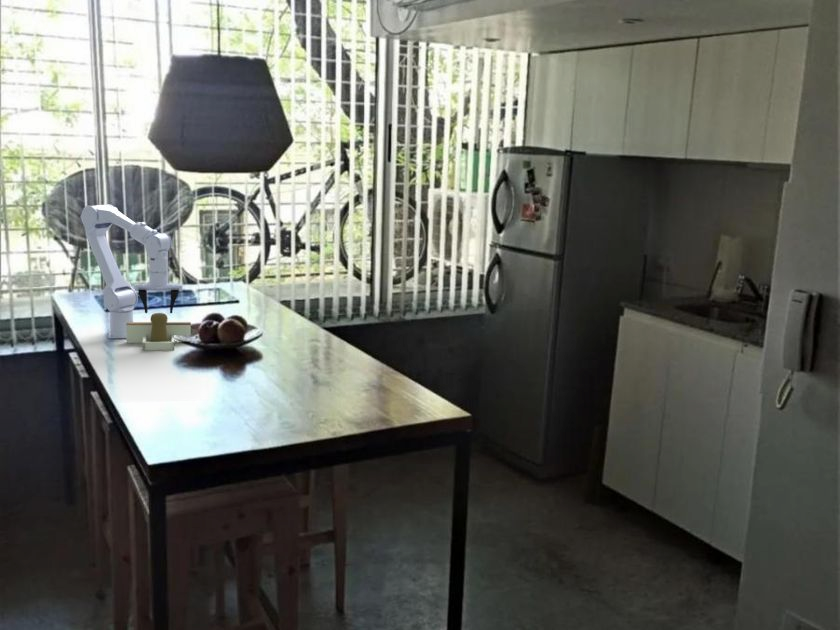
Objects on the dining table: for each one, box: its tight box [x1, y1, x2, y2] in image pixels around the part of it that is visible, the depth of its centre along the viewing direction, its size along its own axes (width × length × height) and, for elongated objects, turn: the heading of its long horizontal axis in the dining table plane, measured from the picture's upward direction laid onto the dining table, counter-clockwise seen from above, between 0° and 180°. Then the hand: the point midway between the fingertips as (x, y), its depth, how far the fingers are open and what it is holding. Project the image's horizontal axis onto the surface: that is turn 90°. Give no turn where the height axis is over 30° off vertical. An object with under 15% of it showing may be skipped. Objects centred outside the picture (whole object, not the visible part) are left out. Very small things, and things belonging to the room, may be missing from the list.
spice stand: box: [126, 321, 192, 351], centre depth 265 cm, size 10×20×7 cm, turn 106°
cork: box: [150, 312, 168, 342], centre depth 264 cm, size 6×6×11 cm
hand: (158, 312), depth 266 cm, fingers open, 7 cm apart
